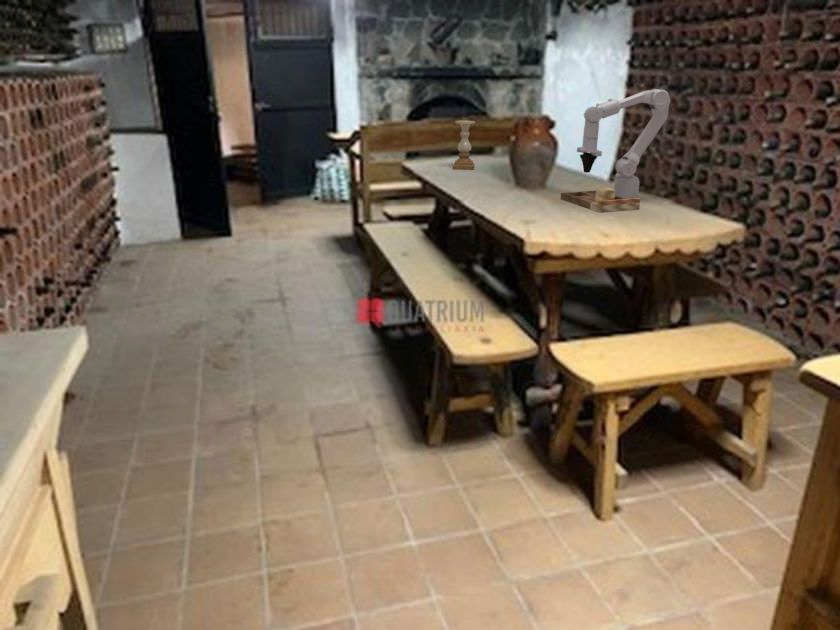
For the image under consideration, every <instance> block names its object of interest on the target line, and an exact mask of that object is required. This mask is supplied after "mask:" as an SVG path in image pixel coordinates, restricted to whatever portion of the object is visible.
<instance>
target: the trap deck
mask: <svg viewBox="0 0 840 630" xmlns="http://www.w3.org/2000/svg"><path fill="white" fill-rule="evenodd" d="M595 196H596V190H585V191H569V192H568V191H567V192H561V193H560V200H562V201H566V202H568V203H571V204H574V205H578V206H580V207H583V208H585V209H589V210H592V211H595V212H598V213H606V212H607V213H608V212H609V213H610V212H619V211H631V210H634V211H635V210H640V207H641V206H640V205H641V198H640V197H638V198H630V199H626V198H623V197H619V196H616V195H615V198H614V200H603V201H598V203H597V202H595Z"/></svg>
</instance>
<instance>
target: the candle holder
mask: <svg viewBox="0 0 840 630" xmlns="http://www.w3.org/2000/svg"><path fill="white" fill-rule="evenodd" d="M454 123H455V124H458V125H459V126H460V128H461V131H460V133H459V135H460V136H461V137H460V138H461V140H460V141H459V143H458V144H457V150H458V151H459V153H458V157H459V158H457V159H456V160H455V162H454V163H453V168H452V170H457V171H458V170H464V171H466V170H467V171H472V170H473V171H474V170H475V163H474V160H472V159H471V158H470V156H471V154H470V151H472V145H471V143H470V141H469V137H470V135H471V133H470V132H469V129H470V127H471V125H472V124H476V121H475V120H465V119H463V120H462V119H461V120H455V122H454Z"/></svg>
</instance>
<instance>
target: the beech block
mask: <svg viewBox="0 0 840 630" xmlns="http://www.w3.org/2000/svg"><path fill="white" fill-rule="evenodd" d="M595 191H596V196H595V202H597V203H598V201H603V200H614V198H615V190H614V188H609V187H602V188H600V187H599V188H596V189H595Z"/></svg>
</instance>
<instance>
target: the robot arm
mask: <svg viewBox="0 0 840 630" xmlns="http://www.w3.org/2000/svg"><path fill="white" fill-rule="evenodd" d="M641 103H642V104H643V103H644V104H647V105H648V106H649V107H650V109H651V113H652V117H651V118H650V119H649V121H648V122H647V124H646V125H645V127H644V129H643V130H642V131H641V133H640V134H639V136H638V137H637V139H636V140H635V142H634V143H633V144H632V146H631V147H630V149H629V150H628V151H627V152H626V153H625V154H624V155H623V156H622V157H621V158H619V159H618V160H617V161H616V163H615V171H616V174H615V177H614V186H613V190H615V195H616V196H619V197H623V198H626V199H630V198H639V189H640V180H639V177H638V176H635V173H636V172H637V166H639V164H640V159H641V157H642V155H643V154H644V153H645V151H646V150H647V149H648V147H649V146H650V144H651V142H652V141H653V139H654V138H655V137H656V135H657V133H659V131H660V129H661V128H662V127H663V125H664V123H665V122H666V121H667V119H668V117H669V116H668V115H669V106H670V104H671V98H670V94H669V93H668V91H667V90H665V89H658V88H651V89H650V90H649V89H648V90H644V91H641V92H638V93H636V94H632V95H630V96H628V97H625V98H623V99H619V100H617V99H616V98H613V99H612V98H609V99H607V101H604V102H602V103H596V104H595V106H592V105H591V106H589V107H587V108H586V109H585V110H584V112H583V117H584V127H583V136H582V146H577V147H576V153H582V154H579V157H580V159H581V162H582V168H583V173H585V174H586V173H588V174H589V173H591V170H592V167H593V165H594V163H595V161H596V160H597V158H598V157H602V156H603V155H602V154H603V151H602V150H599V149H597V148H598V139H599V129H600V121H601V119H606V118H608V117H612V116H614V115H617V114H619V113H620V111H621V110H622V109H625V108H628V107H631V106H633V105H634V106H636V105H637V104H641Z"/></svg>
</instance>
